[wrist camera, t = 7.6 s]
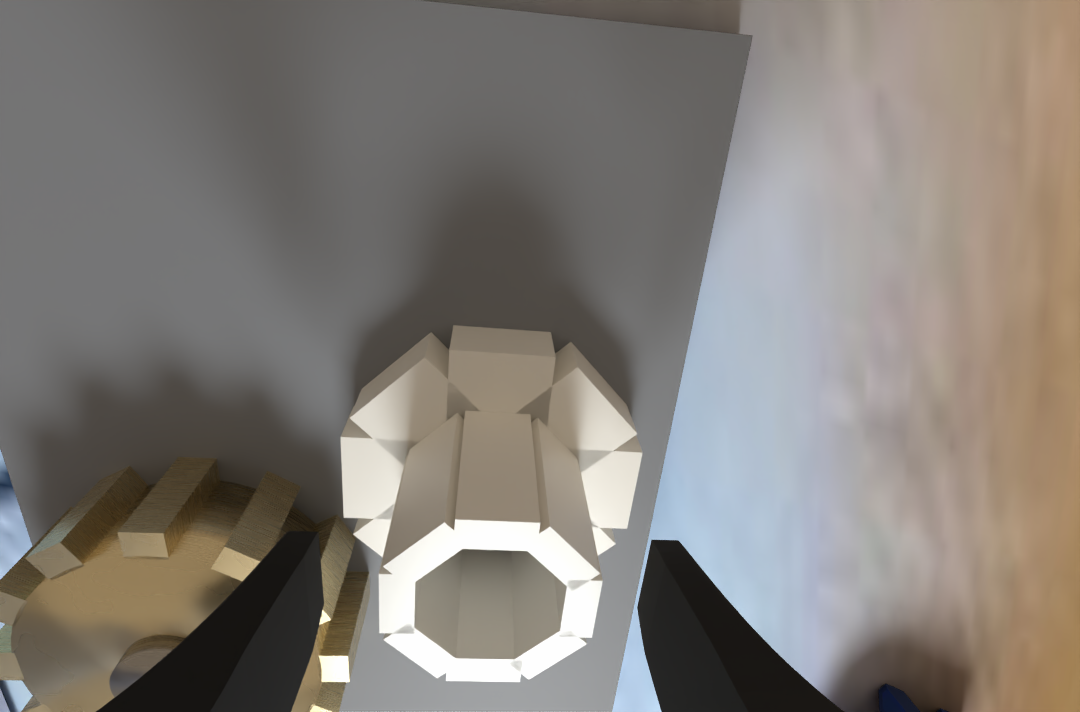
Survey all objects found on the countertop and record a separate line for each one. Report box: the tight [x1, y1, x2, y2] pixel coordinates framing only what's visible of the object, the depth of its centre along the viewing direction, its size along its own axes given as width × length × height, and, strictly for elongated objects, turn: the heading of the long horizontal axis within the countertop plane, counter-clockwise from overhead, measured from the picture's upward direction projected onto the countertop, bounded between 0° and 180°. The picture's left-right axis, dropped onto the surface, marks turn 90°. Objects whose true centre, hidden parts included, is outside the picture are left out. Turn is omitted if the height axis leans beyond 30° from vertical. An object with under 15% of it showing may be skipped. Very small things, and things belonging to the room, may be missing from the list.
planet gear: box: [341, 325, 643, 682], centre depth 15 cm, size 8×8×6 cm
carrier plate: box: [0, 0, 752, 712], centre depth 17 cm, size 18×22×1 cm
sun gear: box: [0, 457, 370, 712], centre depth 17 cm, size 9×9×4 cm
